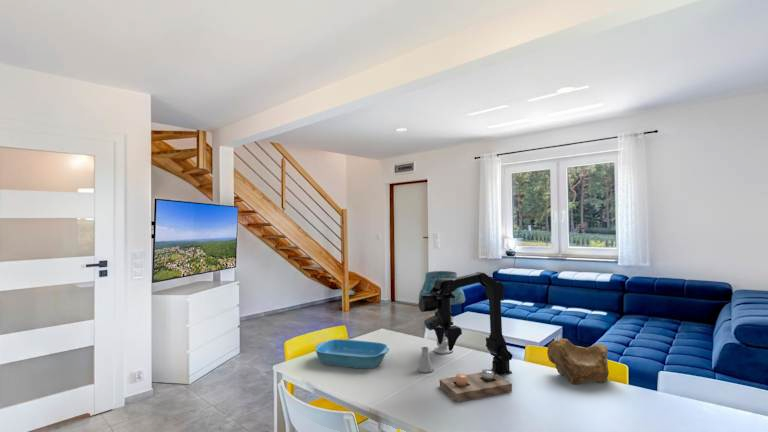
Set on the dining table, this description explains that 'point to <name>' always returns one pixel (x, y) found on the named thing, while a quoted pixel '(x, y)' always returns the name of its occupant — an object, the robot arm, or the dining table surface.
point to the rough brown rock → (579, 361)
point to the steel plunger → (487, 375)
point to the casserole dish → (351, 353)
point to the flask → (425, 362)
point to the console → (475, 387)
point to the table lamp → (428, 286)
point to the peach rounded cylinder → (461, 380)
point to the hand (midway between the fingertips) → (445, 347)
